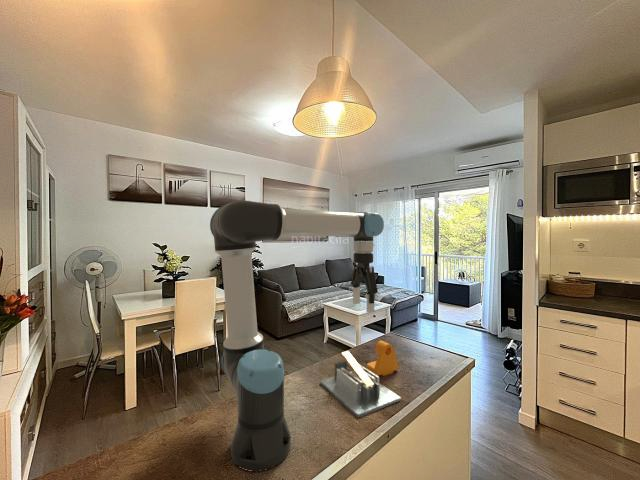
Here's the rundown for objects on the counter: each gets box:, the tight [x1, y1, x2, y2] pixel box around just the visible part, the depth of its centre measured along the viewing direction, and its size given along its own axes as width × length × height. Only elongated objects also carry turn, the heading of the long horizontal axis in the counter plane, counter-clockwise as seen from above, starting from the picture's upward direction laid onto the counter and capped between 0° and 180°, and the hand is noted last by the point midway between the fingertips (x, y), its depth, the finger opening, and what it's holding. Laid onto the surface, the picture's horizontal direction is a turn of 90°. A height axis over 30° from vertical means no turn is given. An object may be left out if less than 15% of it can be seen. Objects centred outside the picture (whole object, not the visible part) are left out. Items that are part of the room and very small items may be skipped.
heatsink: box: [319, 360, 402, 419], centre depth 98 cm, size 23×18×6 cm
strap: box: [340, 350, 376, 390], centre depth 98 cm, size 17×3×1 cm, turn 30°
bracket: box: [366, 340, 399, 377], centre depth 114 cm, size 11×7×12 cm, turn 120°
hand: (362, 307), depth 107 cm, fingers open, 13 cm apart
